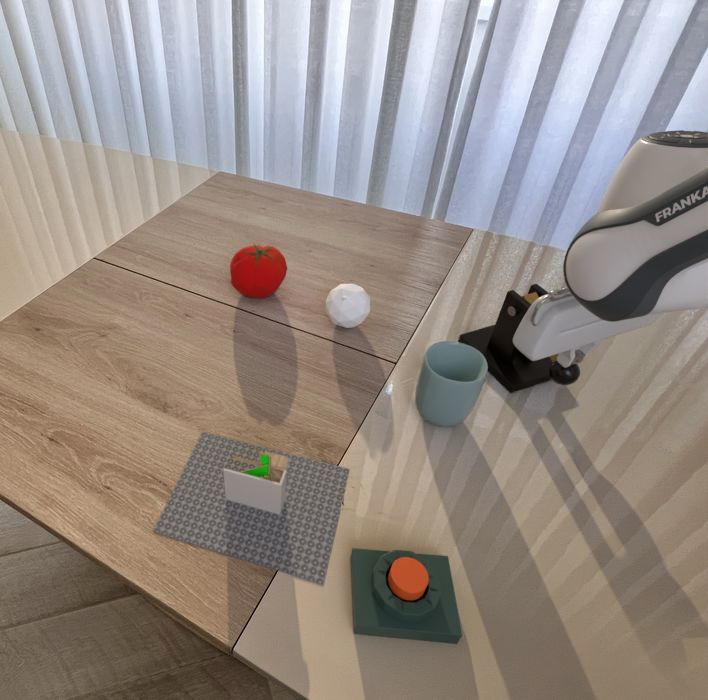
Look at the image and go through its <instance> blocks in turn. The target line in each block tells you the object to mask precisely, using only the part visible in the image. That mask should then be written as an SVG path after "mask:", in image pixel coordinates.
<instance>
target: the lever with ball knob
mask: <svg viewBox="0 0 708 700" xmlns="http://www.w3.org/2000/svg"><path fill="white" fill-rule="evenodd" d="M521 296H522V297H523V298H524V299H525V300H527V301H528V302H529V303H530V304H533V303H534V302H535V301H536V300H537V299H538V298H539V297H538V295H537V293H536V292H534V293H531V294H528V293H527V294H523V295H521ZM558 355H559V353H558V354H555V355H552V356H549V357H550V358H551V360H552V362H553V363H552V364H551V366H550V368H549V375H550V377H551V379H552V380H551V381H553V382H554V383H556V384H557V385H560V386H570V385H572V384H574V383H576V382H577V381H578V380H579V378H580V376H581V369H580V366H579V363H578V364H575V365H572V366H569V367H563V366H562V365H561V364H560V363H558V361H557V357H558Z"/></svg>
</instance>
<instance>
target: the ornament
mask: <svg viewBox="0 0 708 700" xmlns="http://www.w3.org/2000/svg"><path fill="white" fill-rule="evenodd" d="M324 307H325V314H326V315H327V317H328V318H329V320H330V321H331V323H332V324H334V325H336V326H339V327H342V328H346V329H349V328H356V327H357V326H359V325H361V324H362V323H363V322H364V321H365V320H366V319H367V317H368V316H369V315H370V314H371V313H370V312H371V297H370V295H369V294H368V293H367V292H366V290H365V289H364V288H363V287H362V286H359V285H357V284H355V283H339V285H337V286H336V287H334V288H333V289H331V290H330V291H329V292H328V295H327V297H326V300H325V305H324Z"/></svg>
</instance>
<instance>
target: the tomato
mask: <svg viewBox="0 0 708 700" xmlns="http://www.w3.org/2000/svg"><path fill="white" fill-rule="evenodd" d="M287 271H288V265H287V260H286V258H285V256H284V255H283V253H282V252H281V251H280V250H279V249H278V248H277V247H275V246H274V245H265V246H262V245H256V244H255V243H253V245H248V246H245V247H242V248H240V249H239V250H238V251H237V252H236V253H235V254H234V255H233V257H232V259H231V260H230V264H229V272H230V273H229V274H230V283H231V285H232V287H233V288H234V289H235V290H236V291H237V292H238V293H240V294H241V295H243V296H245V297H248V298H254V299H255V298H256V299H265V298H267V297H270V296H271V295H273V294H274V293H276V292H277V291H278V289H279V288H280V286H281V285H282V283H283V281H284V280H285V278H286V275H287Z"/></svg>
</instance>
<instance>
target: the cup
mask: <svg viewBox="0 0 708 700" xmlns="http://www.w3.org/2000/svg"><path fill="white" fill-rule="evenodd" d="M488 373H489V372H488V364H487V361H486V359H485V357H484V356H483V354H482V353H481V352H479V351H478V350H477V349H475V348H473V347H471V346H469V345H466V344H463V343H459V342H458V341H449V340H445V341H438V342H436V343H435V342H434V343H433V344H431V345H430V346H429V347H428V348H427V349H426V351H425V353H424V355H423V357H422V361H421V364H420V369H419V372H418V375H417V376H418V377H417V380H416V385H415V392H414V393H415V395H414V397H415V399H414V401H415V407H416V410H417V412H418V415H419V416H420V417H421V418H422V419H423V420H424V421H426V422H427V423H428V424H431V425H433V426H436V427H441V428H451V427H456V426H458V425H461V424H462V423H463V422H464V421H466V419H467V418H468V417H469V416H470V415H471V413H472V411H473V410H474V407H475V406H476V403H477V401H478V399H479V397H480V394H481V392H482V389H483V387H484V385H485V382H486V379H487V377H488Z"/></svg>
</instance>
